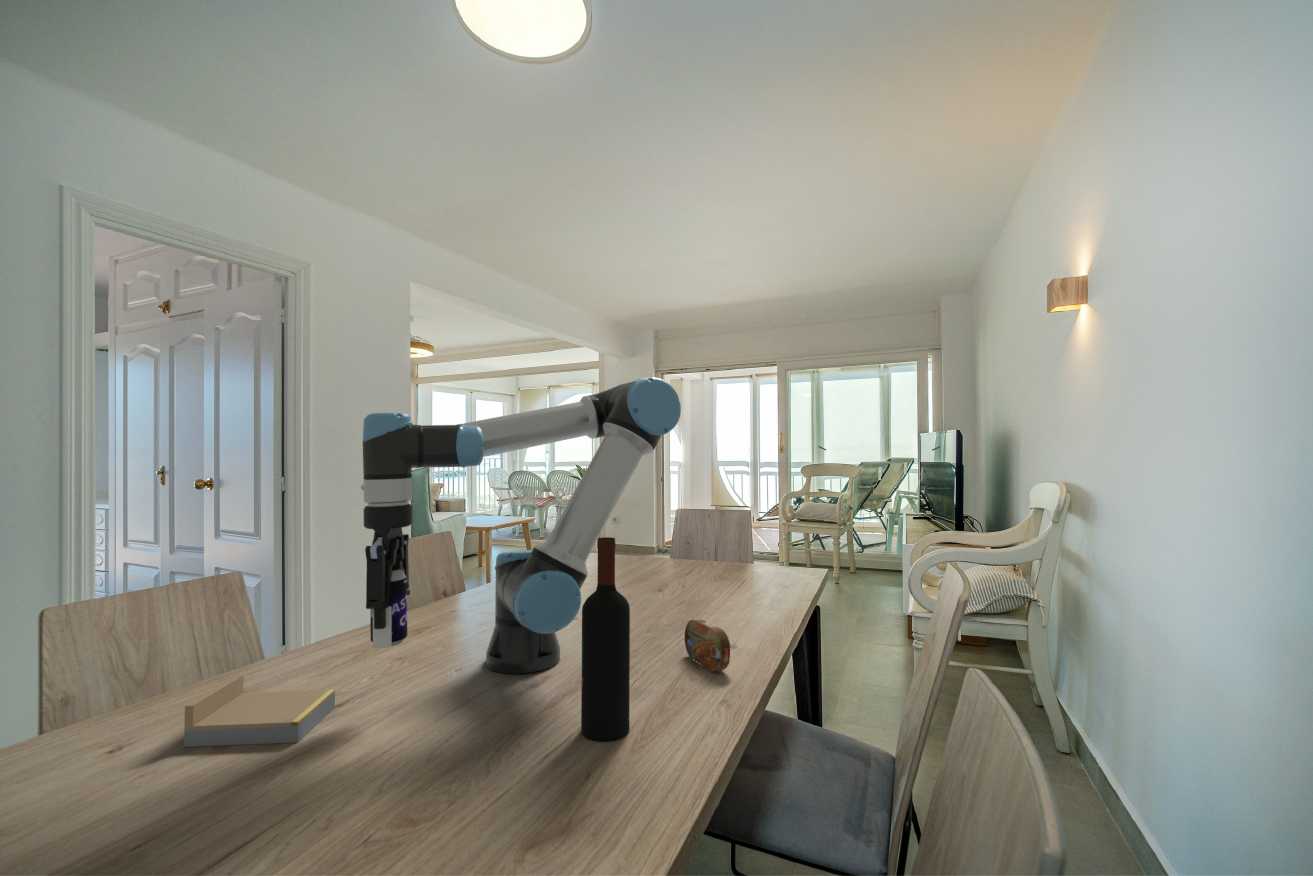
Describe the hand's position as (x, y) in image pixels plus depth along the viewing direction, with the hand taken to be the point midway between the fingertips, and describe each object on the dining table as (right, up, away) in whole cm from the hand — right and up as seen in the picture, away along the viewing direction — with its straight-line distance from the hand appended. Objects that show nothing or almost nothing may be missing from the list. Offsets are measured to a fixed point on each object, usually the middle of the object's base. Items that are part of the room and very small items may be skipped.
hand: (389, 640), depth 98 cm
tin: (+56, -13, +22) cm, 61 cm away
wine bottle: (+37, -12, -7) cm, 40 cm away
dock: (-17, -12, -6) cm, 21 cm away
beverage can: (0, -1, 0) cm, 1 cm away
